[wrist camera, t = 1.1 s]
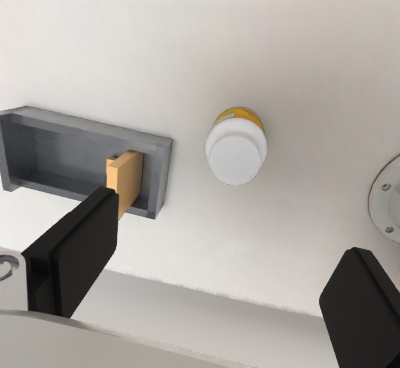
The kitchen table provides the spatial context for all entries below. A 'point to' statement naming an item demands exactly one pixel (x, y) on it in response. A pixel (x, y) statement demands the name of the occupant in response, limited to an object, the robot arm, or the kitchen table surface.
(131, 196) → the block
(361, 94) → the kitchen table surface
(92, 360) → the robot arm
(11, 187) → the grey rectangular tray
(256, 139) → the supplement bottle
